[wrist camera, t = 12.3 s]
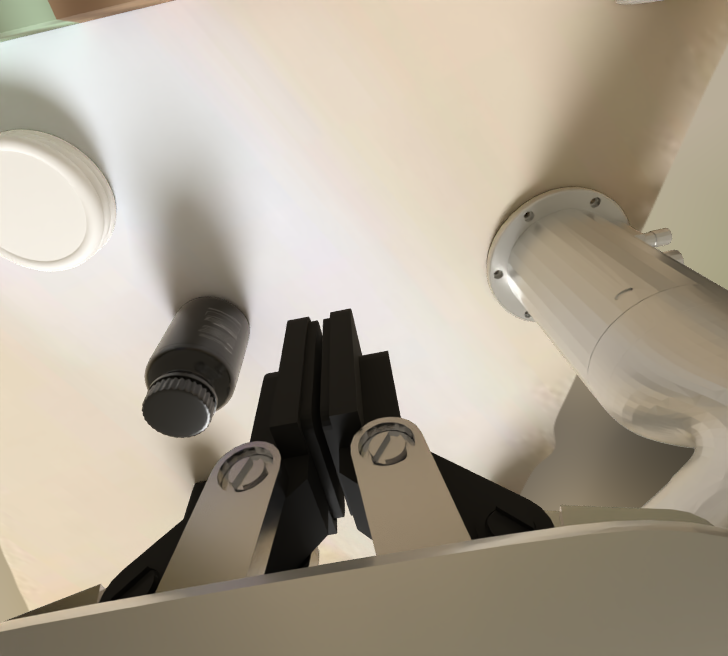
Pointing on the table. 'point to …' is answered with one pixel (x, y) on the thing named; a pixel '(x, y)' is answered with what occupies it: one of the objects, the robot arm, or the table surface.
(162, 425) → the supplement bottle
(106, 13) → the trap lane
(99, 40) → the table surface
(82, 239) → the coaster
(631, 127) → the table surface
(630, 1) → the photo printer
